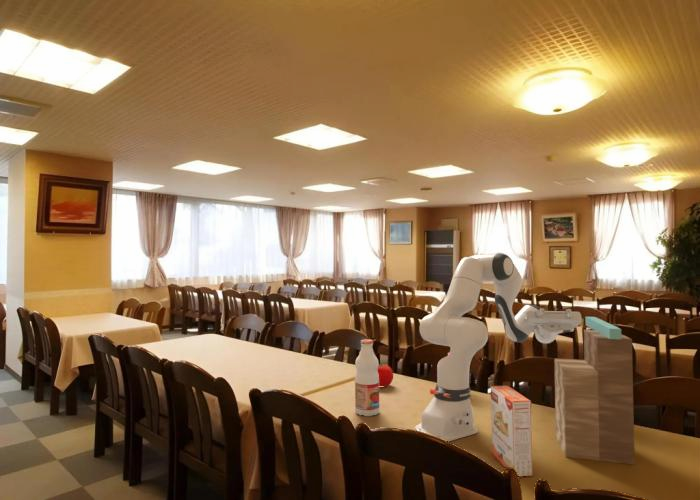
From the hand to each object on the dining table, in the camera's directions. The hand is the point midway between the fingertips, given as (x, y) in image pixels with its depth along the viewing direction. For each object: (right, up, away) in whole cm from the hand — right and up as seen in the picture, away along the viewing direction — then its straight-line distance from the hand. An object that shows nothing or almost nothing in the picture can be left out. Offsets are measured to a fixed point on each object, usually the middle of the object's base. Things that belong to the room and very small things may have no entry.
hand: (555, 310), depth 164 cm
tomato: (-66, -41, +33) cm, 84 cm away
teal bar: (0, -3, -29) cm, 29 cm away
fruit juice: (-74, -40, 0) cm, 84 cm away
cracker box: (-34, -39, -42) cm, 67 cm away
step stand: (-5, -39, -33) cm, 51 cm away
